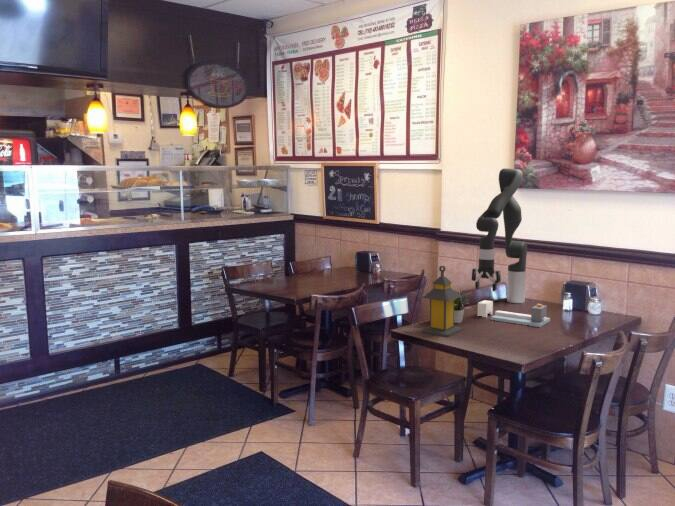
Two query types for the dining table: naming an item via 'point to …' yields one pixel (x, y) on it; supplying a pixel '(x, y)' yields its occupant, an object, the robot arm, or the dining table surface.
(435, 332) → the lantern
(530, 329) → the dining table surface
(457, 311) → the house plant
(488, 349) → the dining table surface
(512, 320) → the rail board
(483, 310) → the din module
